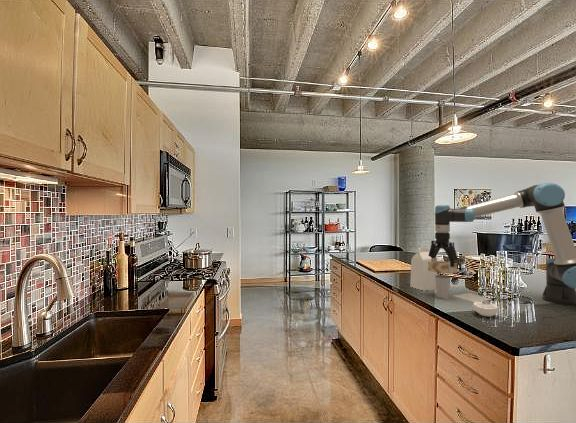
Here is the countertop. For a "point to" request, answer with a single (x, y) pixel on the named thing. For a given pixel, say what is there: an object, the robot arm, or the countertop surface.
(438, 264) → the bread bun
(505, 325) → the countertop surface
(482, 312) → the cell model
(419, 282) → the milk
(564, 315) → the countertop surface
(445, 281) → the cup
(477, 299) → the mat
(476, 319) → the countertop surface
